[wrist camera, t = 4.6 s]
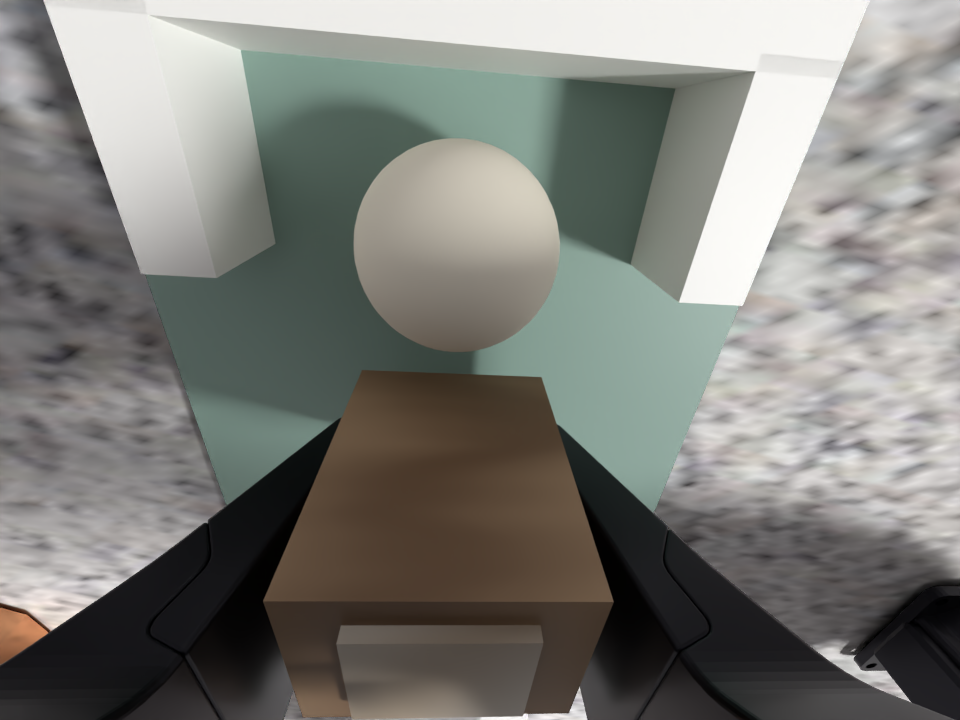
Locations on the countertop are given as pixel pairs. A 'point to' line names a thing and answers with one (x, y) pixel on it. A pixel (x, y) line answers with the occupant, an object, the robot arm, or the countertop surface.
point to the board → (369, 338)
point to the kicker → (440, 557)
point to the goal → (467, 46)
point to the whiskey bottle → (17, 633)
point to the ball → (456, 245)
